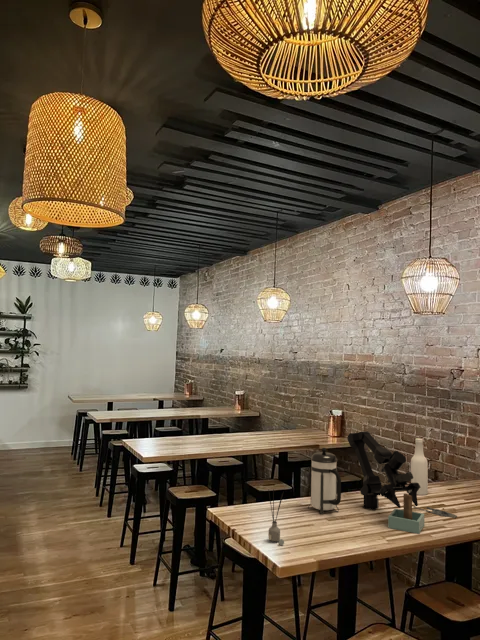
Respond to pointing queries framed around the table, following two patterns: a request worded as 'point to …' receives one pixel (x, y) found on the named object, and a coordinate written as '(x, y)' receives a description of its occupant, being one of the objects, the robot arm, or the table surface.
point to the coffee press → (325, 482)
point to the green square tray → (406, 521)
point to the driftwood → (439, 512)
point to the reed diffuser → (275, 525)
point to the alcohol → (420, 468)
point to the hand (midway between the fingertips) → (408, 506)
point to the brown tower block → (407, 506)
